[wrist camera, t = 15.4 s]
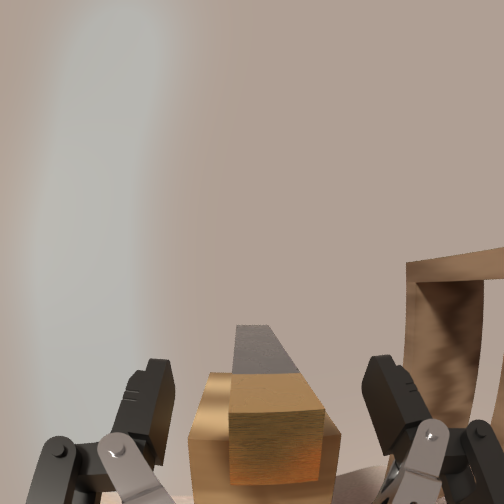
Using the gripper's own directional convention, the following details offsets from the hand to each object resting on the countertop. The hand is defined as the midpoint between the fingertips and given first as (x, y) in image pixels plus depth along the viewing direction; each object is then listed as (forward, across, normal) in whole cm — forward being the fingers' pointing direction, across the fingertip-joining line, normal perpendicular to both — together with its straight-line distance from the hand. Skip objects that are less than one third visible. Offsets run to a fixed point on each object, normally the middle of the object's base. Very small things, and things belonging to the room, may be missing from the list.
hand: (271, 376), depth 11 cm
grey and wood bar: (+7, 0, +9) cm, 12 cm away
